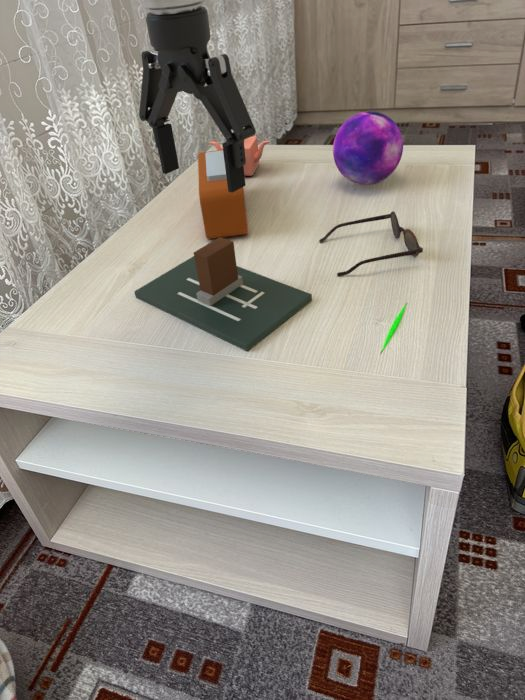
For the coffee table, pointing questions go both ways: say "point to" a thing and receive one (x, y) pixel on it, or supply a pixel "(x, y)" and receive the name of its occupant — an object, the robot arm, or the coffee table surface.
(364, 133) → the decorative orb
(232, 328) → the chalkboard
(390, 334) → the leaf
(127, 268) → the coffee table surface
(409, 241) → the eyeglasses
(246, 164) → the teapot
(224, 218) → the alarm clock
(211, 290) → the eraser
